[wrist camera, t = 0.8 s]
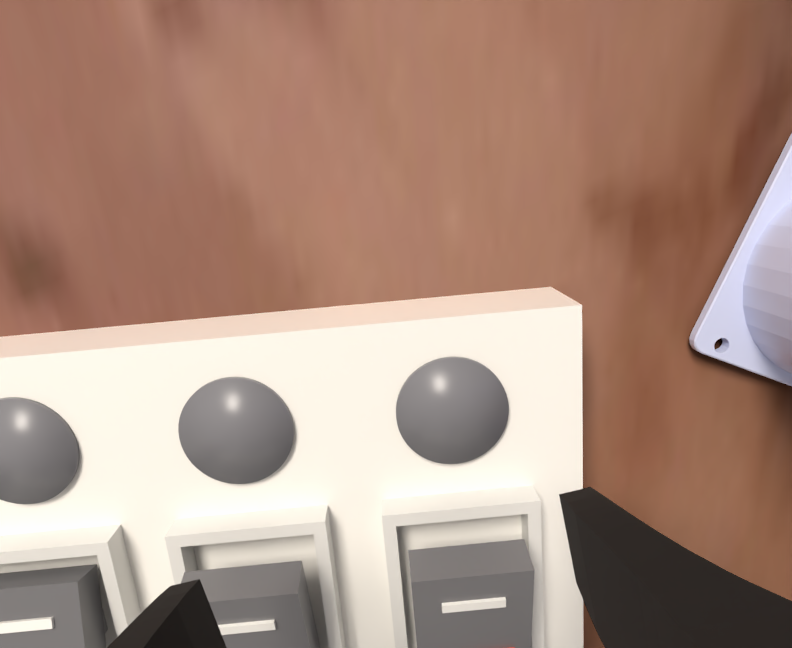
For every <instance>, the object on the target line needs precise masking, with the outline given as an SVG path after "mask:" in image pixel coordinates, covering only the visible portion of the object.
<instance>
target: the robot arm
mask: <svg viewBox="0 0 792 648" xmlns="http://www.w3.org/2000/svg"><path fill="white" fill-rule="evenodd" d="M720 338H722V345H721V346H720V347H719V348H717V349H715V348H714V345H715V342H716V341H717V340H718V339H720ZM689 341H690V345H691V347H692V348H693V349H694V350H696V351H698V352H700V353H702V354H704V355H707V356H710V357H713V358H715V359H718V360H721V361H724V362H726V363H729V364H732V365H735V366H737V367H740V368H743V369H746V370H748V371H751V372H754V373H757V374H759V375H762V376H765V377H767V378H770V379H773V380H776V381H778V382H781V383H784V384H787V385H789V386H792V134H791V135H790V137H789V139H788V141H787V143H786V145H785V147H784V149H783V151H782V153H781V155H780V157H779V159H778V161H777V163H776V165H775V167H774V169H773V171H772V173H771V175H770V177H769V179H768V181H767V183H766V185H765V187H764V189H763V191H762V193H761V195H760V197H759V199H758V201H757V203H756V205H755V207H754V209H753V210H752V212H751V214H750V216H749V218H748V220H747V222H746V224H745V226H744V228H743V230H742V232H741V234H740V236H739V238H738V240H737V242H736V244H735V246H734V248H733V250H732V252H731V254H730V256H729V258H728V260H727V262H726V264H725V266H724V268H723V270H722V272H721V274H720V276H719V278H718V280H717V282H716V284H715V286H714V288H713V290H712V292H711V294H710V296H709V298H708V300H707V302H706V304H705V306H704V308H703V310H702V312H701V314H700V316H699V318H698V320H697V322H696V324H695V326H694V328H693V330H692V332H691V334H690V338H689ZM559 497H560V502H561V507H562V512H563V517H564V522H565V528H566V533H567V538H568V543H569V548H570V553H571V558H572V563H573V569H574V574H575V579H576V583H577V586H578V588H579V591H580V593H581V595H582V598H583V600H584V603H585V605H586V608H587V610H588V612H589V615H590V617H591V619H592V622H593V624H594V626H595V629H596V631H597V633H598V635H599V637H600V639H601V641H602V643H603V644H604V646H605V648H792V601H790V600H788V599H786V598H783V597H781V596H779V595H777V594H775V593H772V592H770V591H768V590H766V589H764V588H761V587H759V586H757V585H755V584H753V583H750V582H748V581H746V580H744V579H742V578H740V577H738V576H736V575H734V574H732V573H730V572H728V571H726V570H724V569H722V568H721V567H719V566H717V565H715V564H713V563H711V562H709V561H707V560H706V559H704V558H702V557H700V556H698V555H696V554H694V553H693V552H691V551H689V550H687V549H686V548H684V547H682V546H681V545H679V544H677V543H676V542H674V541H672V540H671V539H669V538H668V537H666V536H664V535H663V534H661V533H659V532H658V531H656V530H654V529H653V528H651V527H650V526H648V525H647V524H645V523H644V522H642V521H640V520H639V519H637V518H636V517H634V516H633V515H631V514H630V513H628V512H627V511H625V510H624V509H622V508H621V507H619V506H618V505H616V504H615V503H614V502H612V501H611V500H609V499H608V498H606V497H605V496H603V495H602V494H600V493H599V492H597V491H596V490H594V489H592V488H591V487H588V488H584V489H580V490H575V491H571V492H567V493H563V494H559ZM107 648H227V647H226V645H225V642H224V640H223V637H222V634H221V632H220V629H219V627H218V624H217V622H216V619H215V617H214V614H213V611H212V609H211V606H210V604H209V601H208V599H207V596H206V594H205V591H204V588H203V586H202V583H201V581H200V579H198V580H193V581H189V582H185V583H181V584H176V585H172V586H170V587H168V588H167V589H166V590H165V591H164V592H163V593H161V594H160V595H159V596H158V597H157V598H156V599H155V600H154V601H153V602H152V603H151V604H150V605H149V606H148V607H147V608H146V609H145V610H144V611H143V612H142V613H141V614H140V615H139V616H138V617H137V618H136V619H135V620H134V621H133V622H132V623H131V624H130V625H129V626H128V627H127V628H126V629H125V630H124V631H123V632H122V633H121V634H120V635H119V636H118V637H117V638H116V639H115V640H114V641H113V642H112V643H111V644H110V645H109V646H108V647H107Z"/></svg>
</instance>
